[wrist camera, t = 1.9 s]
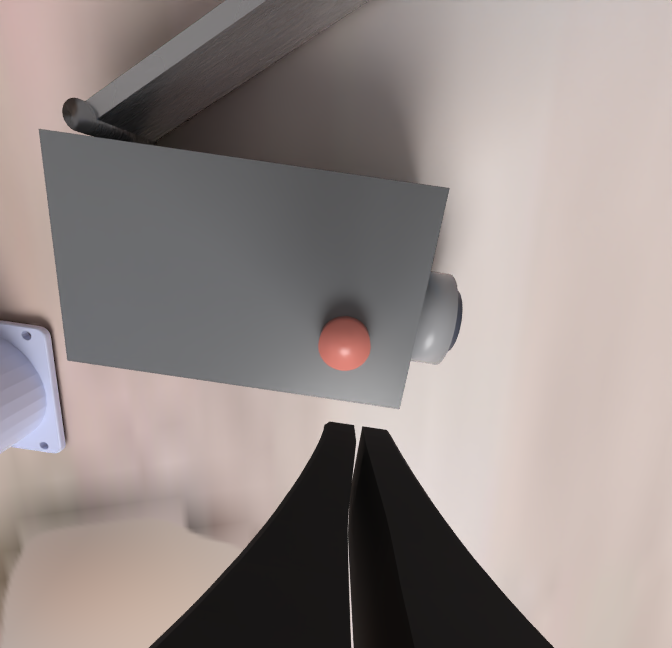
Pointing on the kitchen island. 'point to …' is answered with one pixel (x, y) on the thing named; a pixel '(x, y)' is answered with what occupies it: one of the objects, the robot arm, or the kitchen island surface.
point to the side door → (201, 66)
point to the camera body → (246, 269)
